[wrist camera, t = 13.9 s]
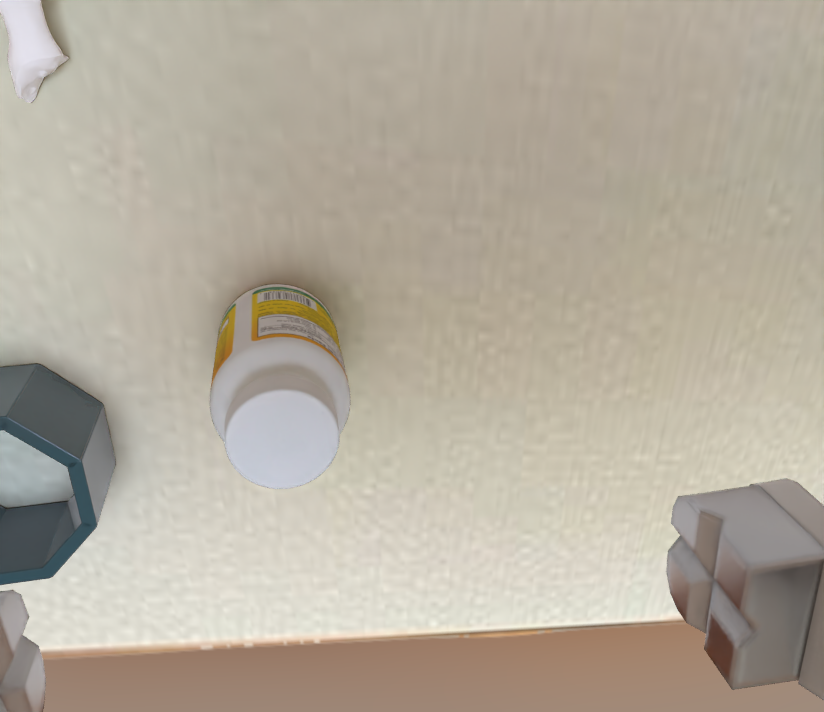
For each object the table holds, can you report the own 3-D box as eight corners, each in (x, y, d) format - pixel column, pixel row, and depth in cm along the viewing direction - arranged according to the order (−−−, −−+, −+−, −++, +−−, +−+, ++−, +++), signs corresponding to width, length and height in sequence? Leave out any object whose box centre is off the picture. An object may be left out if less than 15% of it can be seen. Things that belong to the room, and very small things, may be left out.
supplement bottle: (296, 259, 35) (310, 342, 26) (357, 352, 37) (388, 457, 28) (192, 320, 35) (172, 422, 26) (259, 409, 37) (261, 530, 29)
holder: (93, 357, 35) (69, 409, 30) (125, 504, 38) (107, 570, 34) (-97, 376, 34) (-151, 433, 29) (-48, 526, 37) (-90, 598, 32)
